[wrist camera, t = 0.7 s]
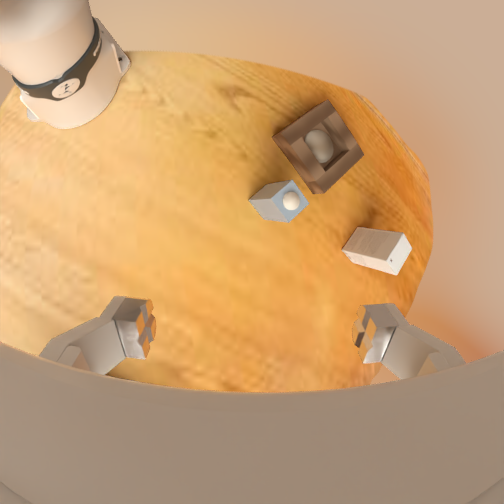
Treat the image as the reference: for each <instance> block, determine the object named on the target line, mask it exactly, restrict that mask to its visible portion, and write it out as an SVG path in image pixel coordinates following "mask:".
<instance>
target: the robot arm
mask: <svg viewBox="0 0 504 504" xmlns="http://www.w3.org/2000/svg"><path fill="white" fill-rule="evenodd" d="M119 59H122V60H121V61H118V60H119ZM0 65H1V66H2V67H4V68H5V69H6V70H7V71H8V72H10V73H11V74H12V77H13V80H14V81H15V83H16V85H17V86H18V87H19V89H20V90H21V95H20V99H21V101H22V102H23V103H24V104H25V105H26V106H27V117H28V119H29V120H30V121H32V122H45V123H47V124H49V125H51V126H53V127H55V128H60V129H70V128H75V127H78V126H81V125H83V124H85V123H87V122H89V121H91V120H92V119H94V118H95V117H96V116H98V115H99V114H100V113H101V112H102V111H103V110H104V109H105V108H106V107H107V106H108V104H109V103H110V102H111V100H112V98H113V97H114V95H115V93H116V90H117V87H118V84H119V81H120V79H121V77H122V76H123V75H124V74H125V73H126V72H127V70H128V69H129V68H130V65H131V63H130V60H129V58H128V57H127V56H126V54H125V53H124V52H123V50H122V49H121V48H120V47H119V45H118V44H117V43H116V41H115V40H114V39H113V37H112V36H111V35H110V33H109V32H108V31H107V30H106V28H105V27H104V26H103V24H102V23H101V22H100V21H99V19H97V18H93V17H92V15H91V11H90V6H89V2H88V0H0ZM152 310H153V304H152V301H151V300H150V299H145V298H136V297H127V296H114V298H113V299H112V300H111V302H110V303H109V304H108V306H107V307H106V309H105V310H104V311H103V313H102V314H101V316H100V317H99V318H97V317H95V318H93V319H91V320H89V321H87V322H85V323H83V324H81V325H79V326H77V327H75V328H73V329H71V330H69V331H67V332H65V333H63V334H61V335H59V336H57V337H55V338H53V339H51V340H50V341H49V343H48V344H47V345H46V347H45V348H44V349H43V351H42V352H41V354H40V355H39V356H36V355H33V354H30V353H28V352H25V351H22V350H20V349H17V348H15V347H12V346H10V345H7V344H5V343H2V342H0V504H504V350H503V351H501V352H498V353H496V354H493V355H491V356H487V357H485V358H482V359H479V360H476V361H473V362H470V363H466V362H465V361H464V359H463V358H462V357H461V355H460V354H459V352H458V351H457V350H456V348H455V347H453V346H451V345H449V344H447V343H445V342H444V341H442V340H440V339H438V338H436V337H434V336H433V335H431V334H429V333H427V332H425V331H423V330H421V329H420V328H418V327H416V326H414V325H410V324H409V323H408V322H407V320H406V319H405V318H404V316H403V315H402V313H401V312H400V311H399V309H398V308H397V307H396V305H395V304H393V303H386V304H374V305H360V306H359V308H358V311H357V316H358V319H357V320H356V321H355V322H354V324H353V328H352V338H353V342H354V344H355V345H356V346H357V347H359V351H358V354H359V356H360V358H361V360H362V363H375V362H381V363H382V364H383V365H384V366H386V367H387V368H388V369H389V370H390V371H392V372H393V373H394V374H395V375H396V376H398V377H399V378H400V379H401V380H397V381H392V382H386V383H380V384H373V385H366V386H358V387H350V388H341V389H330V390H317V391H300V392H228V391H211V390H199V389H188V388H179V387H171V386H163V385H156V384H149V383H143V382H137V381H132V380H126V379H121V378H116V377H112V376H107V375H105V374H106V373H108V372H109V371H110V370H111V369H113V368H114V367H115V366H116V365H118V364H119V363H120V362H121V361H123V360H124V359H125V358H126V357H129V358H137V359H145V360H146V357H147V355H148V352H149V350H150V345H149V343H150V342H151V341H153V340H154V337H155V333H156V320H155V317H154V316H153V315H152V314H151V312H152Z"/></svg>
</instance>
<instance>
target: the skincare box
mask: <svg viewBox="0 0 504 504" xmlns="http://www.w3.org/2000/svg"><path fill="white" fill-rule="evenodd" d="M411 249H412V247H411V245H410V244H409V242H408V240H407V238H406V237H405V235H404V233H401V232H393V231H386V230H378V229H371V228H363V227H357V228H356V230H355V231H354V233H353V234H352V236H351V237H350V239H349V240H348V242H347V243H346V244H345V246H344V247H343V249H342V251H343V252H344V253H345V254H346V255H347V257H348V258H349V259H350V260H351V261H352V262H353V263H356V264H359V265H363V266H366V267H370V268H373V269H377V270H380V271H383V272H387V273H390V274H394V275H397V274H398V272H399V271H400V269H401V267H402V265H403V264H404V262H405V260H406V258H407V257H408V255H409V253H410V251H411Z"/></svg>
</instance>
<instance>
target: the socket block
mask: <svg viewBox="0 0 504 504" xmlns="http://www.w3.org/2000/svg"><path fill="white" fill-rule="evenodd" d="M272 138H273V140H274V141H275V142H276V144H277V145H278V146H279V147H280V149H281V150H282V151H283V153H284V154H285V155H286V157H287V158H288V160H289V161H290V162H291V164H292V165H293V166H294V168H295V169H296V170H297V172H298V173H299V175H300V176H301V177H302V179H303V180H304V182H305V183H306V185H307V186H308V187H309V189H310V190H311V192H312V193H313V194H321V193H325V192H326V191H327V190H328V189H329V188H330V187H331V186H332V185H333V184H334V183H336V182H337V181H338V180H339V179H340V178H341V177H342V176H343V175H344V174H345V173H346V172H347V171H348V170H349V169H350V168H351V167H352V166H353V165H354V164H355V163H356V162H357V161H358V160H360V159H361V158H362V157H363V156H364V153H363V152H362V150H361V148H360V147H359V145H358V144H357V142H356V140H355V139H354V137H353V136H352V134H351V132H350V131H349V129H348V128H347V126H346V125H345V123H344V122H343V120H342V119H341V117H340V116H339V114H338V113H337V111H336V110H335V109H334V107H333V106H332V104H331V103H330V102H329V100H326V101H324V102H322V103H320V104H318V105H317V106H315V107H314V108H312V109H311V110H309V111H308V112H306V113H305V114H304V115H302V116H301V117H299V118H298V119H296V120H295V121H294V122H292V123H291V124H289V125H288V126H287V127H285V128H284V129H283V130H281V131H280V132H278V133H277V134H276V135H274V136H273V137H272Z"/></svg>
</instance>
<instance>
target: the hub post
mask: <svg viewBox="0 0 504 504" xmlns="http://www.w3.org/2000/svg"><path fill="white" fill-rule="evenodd" d="M249 202H250V203H251V204H252V205H253V207H254V208H255V209H256V210H257V212H258V213H259V214H260V215H261V217H262V218H263V219H265V220H273V221H280V222H288V223H289V222H290V221H291V220H292V219H293V218H294V217H295V216H296V215H298V214H299V213H300V212H301V211H302V210H303V209H304V208H305V207H306V206H307V205H308V204H309V202H308V201H307V199H306V198H305V197H304V195H303V194H302V192H301V191H300V190H299V188H298V187H297V185H296V184H295V183H294V181H293V180H288V181H282V182H276V183H271V184H266V185H265V186H264V187H263V188H262V189H260V190H259V191H258V192H257V193H256V194H255V195H253V196H252V197H251V198H250V199H249Z"/></svg>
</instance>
